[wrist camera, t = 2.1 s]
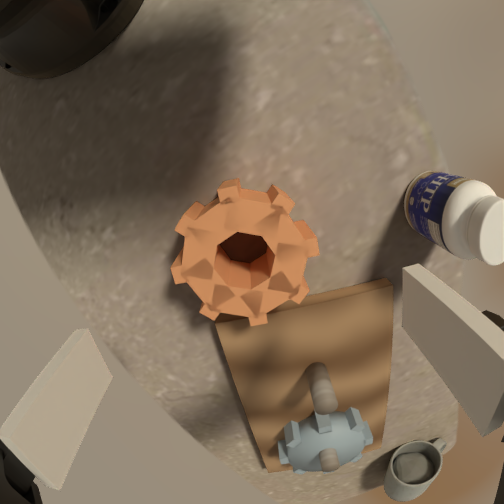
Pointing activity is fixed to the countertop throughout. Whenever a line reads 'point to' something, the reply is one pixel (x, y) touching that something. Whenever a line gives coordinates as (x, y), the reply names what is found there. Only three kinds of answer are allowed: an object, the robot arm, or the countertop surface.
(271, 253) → the terracotta gear
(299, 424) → the slate gear
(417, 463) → the ceramic mug
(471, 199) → the pill bottle
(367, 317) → the walnut board
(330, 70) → the countertop surface
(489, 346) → the robot arm
